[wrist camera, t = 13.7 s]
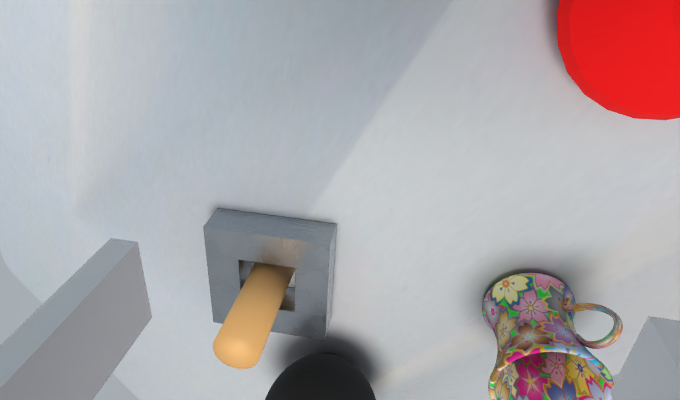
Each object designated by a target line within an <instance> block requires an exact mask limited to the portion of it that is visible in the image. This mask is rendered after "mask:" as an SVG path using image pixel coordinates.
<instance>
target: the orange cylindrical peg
mask: <svg viewBox="0 0 680 400" xmlns="http://www.w3.org/2000/svg"><path fill="white" fill-rule="evenodd" d="M294 270H295V268H293V267H287V266H280V265H273V264H266V263H259V262H255V264H254V266H253V268H252V270H251V272H250V274H249V276H248V277H247V279H246V281H245V283H244V285H243V287H242V289H241V291H240V293H239V295H238V296H237V298H236V300H235V302H234V304H233V306H232V308H231V310H230V312H229V314H228V316H227V317H226V319H225V321H224V323H223V325H222V327H221V329H220V331H219V333H218V335H217V337H216V338H215V340H214V343H213V351H214V353H215V355H216V356H217V357H218V359H219V360H220V361H222V362H223V363H225V364H226V365H228V366H231V367H234V368H238V369H247V368H251V367H253V366H255V365H256V364H257V363H258V361H259V358H260V356H261V353H262V351H263V348H264V346H265V343H266V341H267V338H268V336H269V333H270V331H271V328H272V326H273V323H274V321H275V318H276V316H277V313H278V310H279V308H280V305H281V303H282V300H283V298H284V295H285V293H286V290H287V288H288V285H289V283H290V280H291V278H292V275H293V273H294Z"/></svg>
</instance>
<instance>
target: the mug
mask: <svg viewBox="0 0 680 400" xmlns="http://www.w3.org/2000/svg"><path fill="white" fill-rule="evenodd" d="M582 310H596V311H601V312H604V313H606V314H609V315H610V316H611V317H612V318H613V320H614V326H613V329H612V330H611V332H610V333H609V334H608V335H607V336H606V337H604V338H603V339H601V340H598V341H593V342H591V341H586V340H584V339H583V338H582V337H581V336H580V335H579V334H577V333H576V331H575V328H574V324H573V317H574V314H575V311H582ZM482 311H483V316H484V319H485V321H486V323H487V324H488V326H489V327H490V328H491V329H492V330H493V331H494V333H495V335H496V339H497V345H498V354H497V360H496V364H495V367H494V370H493V372H492V374H491V376H490V380H489V385H488V388H489V395H490V398H491V400H611V399H612V396H611V394H610V391H611V389H612V387H613V385H614V383H613V379H612V376H611V374H610V372H609V371H608V369H607V368H606V367H605V366H604V365H603V363H601V362H600V361H599V360H598V359H597V358H596V357H594V356H593V355H592V354H591V353H590V352H589V351H588V350H587V349H586V347H589V348H593V349H600V348H604V347H607V346H609V345H611V344H612V343H614V342H615V341H616V340H617V339H618V337H619V336H620V334H621V332H622V329H623V325H622V321H621V319H620V317H619V316H618V315H617V314H616V313H615V312H613V311H612V310H610V309H609V308H607V307H604V306H601V305H597V304H591V303H581V304H575V299H574V296H573V294H572V292H571V291H570V290H569V288H568V287H567V286H566V285H565V284H564V283H562V282H561V281H559V280H558V279H556V278H554V277H551V276H548V275H545V274H540V273H521V274H516V275H512V276H509V277H507V278H504V279H503V280H501V281H499V282H498V283H496V284H495V285H494V286H493V287H492V288H491V289H490V290H489V291H488V293H487V294H486V296H485V298H484V301H483V307H482ZM585 346H586V347H585Z"/></svg>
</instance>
